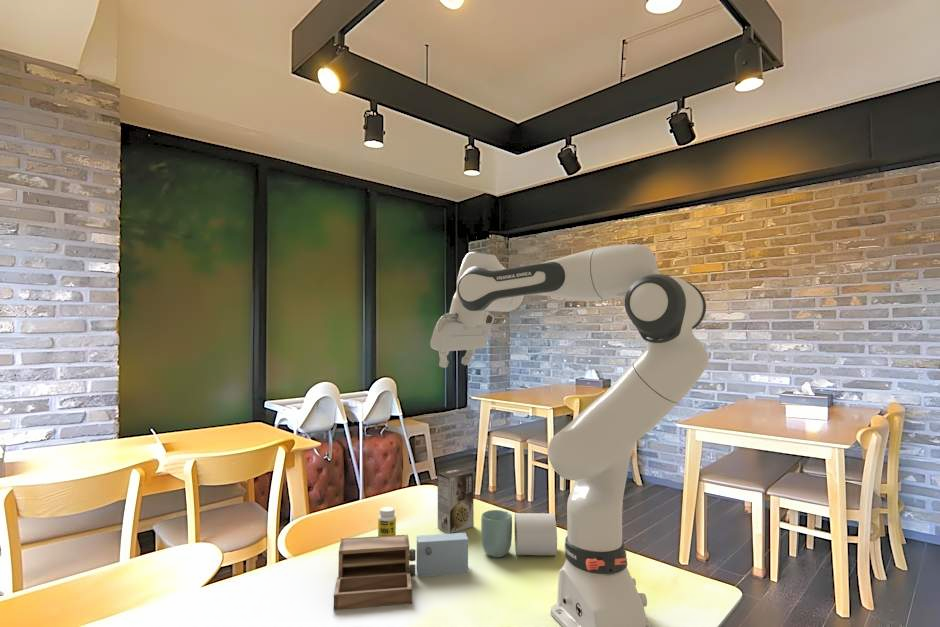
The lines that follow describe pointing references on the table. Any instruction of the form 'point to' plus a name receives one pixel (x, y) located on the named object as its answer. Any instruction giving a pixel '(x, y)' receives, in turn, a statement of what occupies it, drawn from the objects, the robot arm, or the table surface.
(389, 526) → the supplement bottle
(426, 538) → the door
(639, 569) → the table surface
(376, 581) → the cabinet
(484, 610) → the table surface
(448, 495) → the coffee box
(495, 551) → the cup
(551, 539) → the toilet paper
